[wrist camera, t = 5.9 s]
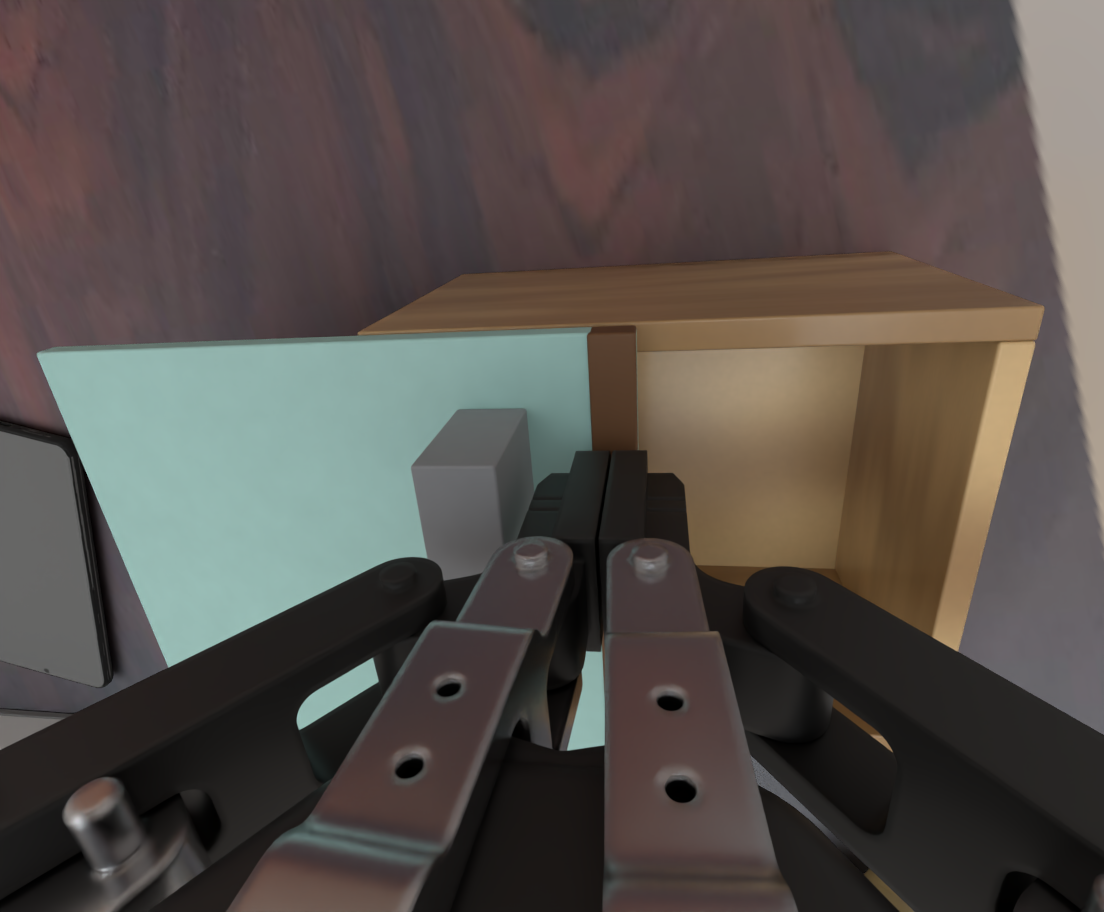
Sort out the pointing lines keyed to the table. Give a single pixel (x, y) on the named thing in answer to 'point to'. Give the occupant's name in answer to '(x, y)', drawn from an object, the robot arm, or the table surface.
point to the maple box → (803, 408)
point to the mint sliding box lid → (333, 465)
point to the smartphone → (48, 561)
